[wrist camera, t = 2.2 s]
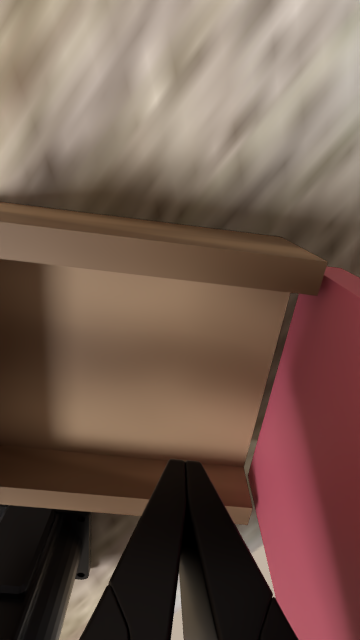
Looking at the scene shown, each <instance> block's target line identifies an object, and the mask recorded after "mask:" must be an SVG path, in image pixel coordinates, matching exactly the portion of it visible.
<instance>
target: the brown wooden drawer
mask: <svg viewBox="0 0 360 640" xmlns="http://www.w3.org/2000/svg"><path fill="white" fill-rule="evenodd" d="M327 263H328V262H327V261H325V260H323V259H322V258H320V257H318V256H316V255H314V254H312V253H310V252H308V251H306V250H305V249H303V248H301V247H299V246H297V245H295V244H293V243H291V242H289V241H288V240H286V239H284V238H282V237H277V236H269V235H261V234H253V233H245V232H237V231H229V230H221V229H213V228H205V227H197V226H189V225H181V224H173V223H165V222H157V221H149V220H141V219H133V218H125V217H117V216H109V215H101V214H93V213H85V212H77V211H69V210H61V209H53V208H45V207H37V206H29V205H21V204H13V203H5V202H0V504H2V505H14V506H26V507H38V508H50V509H63V510H75V511H87V512H99V513H111V514H123V515H135V516H141V515H142V513H143V511H144V509H145V507H146V505H147V503H148V501H149V499H150V497H151V495H152V493H153V491H154V489H155V487H156V485H157V483H158V481H159V479H160V477H161V475H162V473H163V471H164V469H165V466H166V464H167V462H168V461H169V459H182V460H184V462H185V461H186V460H193V461H200V462H201V463H202V465H203V467H204V469H205V471H206V472H207V474H208V476H209V478H210V480H211V482H212V483H213V485H214V487H215V489H216V491H217V492H218V494H219V496H220V498H221V500H222V502H223V503H224V505H225V507H226V509H227V511H228V513H229V514H230V516H231V518H232V520H233V522H234V524H243V525H248V522H249V519H250V515H251V512H252V509H253V508H252V503H251V499H250V494H249V490H248V485H247V481H246V476H245V472H244V464H245V460H246V456H247V453H248V449H249V445H250V442H251V438H252V434H253V430H254V427H255V423H256V419H257V416H258V412H259V408H260V405H261V401H262V397H263V393H264V390H265V386H266V382H267V379H268V375H269V371H270V367H271V364H272V360H273V356H274V353H275V349H276V345H277V341H278V338H279V334H280V330H281V327H282V323H283V319H284V315H285V312H286V308H287V304H288V301H289V297H290V293H297V294H305V295H314V296H318V293H319V289H320V286H321V283H322V280H323V276H324V273H325V270H326V267H327Z"/></svg>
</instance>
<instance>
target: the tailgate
mask: <svg viewBox="0 0 360 640" xmlns="http://www.w3.org/2000/svg"><path fill="white" fill-rule="evenodd" d="M248 479H249V483H250V488H251V492H252V496H253V501H254V505H255V509H256V514H257V518H258V522H259V527H260V531H261V535H262V540H263V544H264V548H265V553H266V557H267V561H268V566H269V570H270V575H271V579H272V583H273V588H274V592H275V596H276V600H277V602H278V604H279V606H280V607H281V609H282V611H283V613H284V615H285V617H286V618H287V620H288V622H289V624H290V625H291V627H292V629H293V631H294V632H295V634H296V636H297V638H298V639H299V640H360V278H359V277H357V276H355V275H353V274H351V273H349V272H347V271H345V270H344V269H342V268H335V267H326V270H325V273H324V276H323V280H322V283H321V286H320V289H319V293H318V296H314V295H305V294H299V295H298V299H297V302H296V306H295V309H294V313H293V316H292V320H291V324H290V327H289V331H288V334H287V338H286V341H285V345H284V349H283V352H282V356H281V359H280V363H279V366H278V370H277V374H276V377H275V381H274V384H273V388H272V391H271V395H270V398H269V402H268V406H267V409H266V413H265V416H264V420H263V423H262V427H261V431H260V434H259V438H258V441H257V445H256V448H255V452H254V456H253V459H252V463H251V466H250V470H249V473H248Z"/></svg>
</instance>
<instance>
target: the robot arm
mask: <svg viewBox="0 0 360 640" xmlns="http://www.w3.org/2000/svg"><path fill="white" fill-rule="evenodd" d="M90 548H91V512H87V511H75V510H63V509H50V508H38V507H26V506H14V505H2V504H0V640H59V637H60V633H61V629H62V626H63V622H64V618H65V614H66V611H67V607H68V603H69V599H70V596H71V592H72V588H73V584H74V581H75V579H80V580H82V579H86V578H88V576H89V572H90ZM178 574H179V575H180V590H181V605H182V620H183V635H184V640H299V639H298V638H297V636H296V634H295V632H294V631H293V629H292V627H291V625H290V624H289V622H288V620H287V618H286V617H285V615H284V613H283V611H282V609H281V607H280V606H279V604H278V602H277V600H276V598H274V597H273V598H272V596H273V594H272V591H271V590H270V588H269V586H268V584H267V582H266V580H265V579H264V577H263V575H262V573H261V571H260V569H259V568H258V566H257V564H256V562H255V560H254V558H253V556H252V555H251V553H250V551H249V549H248V547H247V546H246V544H245V542H244V540H243V538H242V536H241V535H240V533H239V531H238V529H237V527H236V525H235V524H234V522H233V520H232V518H231V516H230V514H229V513H228V511H227V509H226V507H225V505H224V503H223V502H222V500H221V498H220V496H219V494H218V492H217V491H216V489H215V487H214V485H213V483H212V482H211V480H210V478H209V476H208V474H207V472H206V471H205V469H204V467H203V465H202V463H201V462H200V461H193V460H186V461H185V462H184V460H182V459H169V461H168V462H167V464H166V466H165V469H164V471H163V473H162V475H161V477H160V479H159V481H158V483H157V485H156V487H155V489H154V491H153V493H152V495H151V497H150V499H149V501H148V503H147V505H146V507H145V509H144V511H143V513H142V515H141V518H140V520H139V522H138V524H137V526H136V528H135V530H134V532H133V534H132V536H131V538H130V540H129V542H128V544H127V546H126V548H125V550H124V552H123V554H122V556H121V558H120V560H119V562H118V564H117V567H116V569H115V571H114V573H113V575H112V577H111V579H110V581H109V585H108V586H107V587H106V589H105V591H104V593H103V595H102V597H101V599H100V601H99V603H98V605H97V607H96V609H95V611H94V612H93V614H92V616H91V618H90V620H89V622H88V624H87V626H86V628H85V630H84V631H83V633H82V635H81V637H80V639H79V640H171V632H172V624H173V623H172V622H173V615H174V607H175V599H176V590H177V582H178Z"/></svg>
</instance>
